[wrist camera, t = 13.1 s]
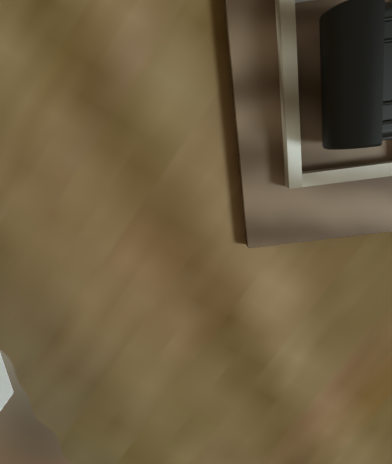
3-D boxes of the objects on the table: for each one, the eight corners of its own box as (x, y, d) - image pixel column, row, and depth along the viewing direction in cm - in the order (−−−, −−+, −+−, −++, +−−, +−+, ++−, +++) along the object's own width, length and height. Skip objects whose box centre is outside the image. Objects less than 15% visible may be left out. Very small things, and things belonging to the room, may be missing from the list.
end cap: (305, 27, 29) (337, -4, 22) (391, 15, 28) (448, -21, 22) (310, 148, 31) (339, 151, 25) (387, 137, 31) (438, 138, 25)
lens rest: (217, -79, 28) (218, -102, 25) (468, -119, 27) (497, -146, 24) (246, 244, 35) (250, 253, 33) (442, 221, 34) (462, 228, 32)
